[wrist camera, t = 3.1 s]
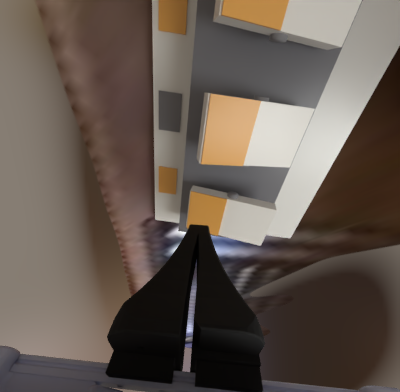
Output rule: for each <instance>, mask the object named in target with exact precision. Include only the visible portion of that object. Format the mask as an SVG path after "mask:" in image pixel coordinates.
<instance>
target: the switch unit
mask: <svg viewBox="0 0 400 392" xmlns="http://www.w3.org/2000/svg"><path fill="white" fill-rule="evenodd" d="M215 2H216V0H152V33H153V101H154V169H155V220H162V221H169V222H176V223H179V231H184V232H187V230H188V228H187V227H186V222H187V213H188V204H189V195H190V190H191V188H192V186H193V185H194V186H199V187H203V188H208V189H212V190H217V191H221V192H226V193H228V192H229V191H233V192H236V193H238V195H239V196H244V197H248V198H253V199H257V200H262V201H266V202H270V203H275V205H276V209H277V211H276V214H275V216H274V218H273V220H272V222H271V225H270V227H269V229H268V231H267V233H266V235H269V236H277V237H284V238H291V236H292V234H293V233H294V231H295V229H296V227H297V226H298V224H299V222H300V220H301V218H302V217H303V215H304V213H305V211H306V210H307V208H308V206H309V204H310V203H311V201H312V199H313V197H314V196H315V194H316V192H317V190H318V189H319V187H320V185H321V183H322V182H323V180H324V178H325V176H326V174H327V173H328V171H329V169H330V167H331V166H332V164H333V162H334V160H335V159H336V157H337V155H338V153H339V152H340V150H341V148H342V146H343V145H344V143H345V141H346V139H347V138H348V136H349V134H350V132H351V130H352V129H353V127H354V125H355V123H356V122H357V120H358V118H359V116H360V115H361V113H362V111H363V109H364V108H365V106H366V104H367V102H368V101H369V99H370V97H371V95H372V94H373V92H374V90H375V88H376V86H377V85H378V83H379V81H380V79H381V78H382V76H383V74H384V72H385V71H386V69H387V67H388V65H389V64H390V62H391V60H392V58H393V57H394V55H395V53H396V51H397V50H398V48H399V46H400V0H362V2H361V4H360V6H359V8H358V11H357V13H356V15H355V18H354V20H353V22H352V25H351V27H350V29H349V32H348V34H347V36H346V39H345V41H344V43H343V45H342V47H340V48H335V49H330V50H325V49H321V48H317V47H313V46H309V45H305V44H301V43H297V42H293V41H289V40H287V41H286V42H284V43H274V42H270V41H269V37H270V36H269V35H265V34H261V33H257V32H253V31H249V30H245V29H241V28H237V27H233V26H229V25H225V24H221V23H217V22H213V19H214V10H215ZM204 93H212V94H219V95H226V96H233V97H239V98H246V99H254V96H259V97H266V98H269V101H268V102H273V103H280V104H287V105H294V106H301V107H307V108H313V109H315V110H314V112H313V115H312V117H311V119H310V122H309V124H308V126H307V129H306V131H305V133H304V136H303V138H302V140H301V142H300V145H299V147H298V149H297V152H296V154H295V156H294V159H293V161H292V163H291V166H290V168H287V167H266V166H249V167H242V166H229V165H207V164H200V163H199V162H198V160H197V151H198V143H199V134H200V126H201V118H202V109H203V101H204ZM210 235H212V234H210ZM212 236H216V235H212ZM218 236H220V235H218ZM220 237H224V236H220ZM227 238H228V237H227Z"/></svg>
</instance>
